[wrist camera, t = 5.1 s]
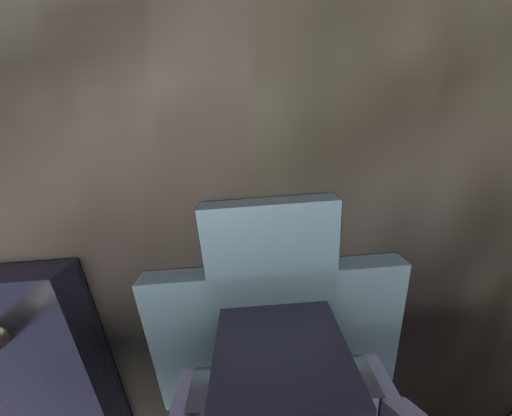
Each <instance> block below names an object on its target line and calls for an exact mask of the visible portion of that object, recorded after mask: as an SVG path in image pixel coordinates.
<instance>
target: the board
mask: <svg viewBox="0 0 512 416" xmlns="http://www.w3.org/2000/svg"><path fill="white" fill-rule="evenodd" d="M341 210H342V200H341V199H340V198H339V197H337V196H336V195H335V194H334V193H322V194H308V195H294V196H280V197H266V198H252V199H238V200H225V201H211V202H200V204H199V205H198V207H197V208H196V210H195V214H196V220H197V227H198V233H199V239H200V246H201V252H202V259H203V265H204V267H196V268H183V269H169V270H156V271H142V273H141V274H140V275H139V277H138V278H137V279H136V281H135V282H134V284H133V285H132V290H133V293H134V297H135V300H136V304H137V308H138V311H139V315H140V318H141V322H142V326H143V329H144V333H145V337H146V340H147V344H148V347H149V351H150V355H151V358H152V362H153V365H154V369H155V373H156V376H157V380H158V384H159V387H160V391H161V394H162V398H163V402H164V405H165V409H166V411H168V410H170V408H171V404H172V401H173V397H174V393H175V390H176V386H177V383H178V379H179V376H180V372H181V370H182V369H183V368H188V367H206V366H211V372H210V378H209V385H208V391H207V398H206V404H205V411H204V416H376V414H377V409H376V406H375V404H374V402H373V400H372V398H371V395H370V393H369V391H368V389H367V387H366V385H365V382H364V380H363V378H362V376H361V374H360V371H359V369H358V367H357V365H356V363H355V360H354V358H353V356H352V355H353V354H368V353H375V354H376V355H377V356H378V358H379V359H380V361H381V363H382V365H383V366H384V368H385V370H386V372H387V373H388V375H389V377H390V378H391V380H392V382H393V376H394V370H395V364H396V357H397V351H398V345H399V339H400V333H401V327H402V321H403V315H404V309H405V303H406V297H407V291H408V285H409V278H410V272H411V266H412V265H411V264H410V263H408V262H407V261H406V260H405V259H404V258H403V257H401V256H400V255H399V254H398V253H384V254H371V255H357V256H344V257H339V249H340V230H341Z"/></svg>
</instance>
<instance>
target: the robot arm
mask: <svg viewBox="0 0 512 416" xmlns="http://www.w3.org/2000/svg"><path fill="white" fill-rule="evenodd" d="M352 356H353V358H354V360H355V363H356V365H357V367H358V369H359V371H360V374H361V376H362V378H363V380H364V382H365V385H366V387H367V389H368V391H369V393H370V395H371V398H372V400H373V402H374V404H375V406H376V409H377V414H376V416H429V415H427V414H426V413H425V412H424V411H422V410H421V409H420V408H419V407H417V406H416V405H415V404H414V403H412V402H411V401H410V400H409V399H407V398H406V397H401V396H400V394H399V392H398V391H397V389H396V387H395V385H394V384H393V382H392V380H391V378H390V377H389V375H388V373H387V372H386V370H385V368H384V366H383V365H382V363H381V361H380V359H379V358H378V356H377V355H376V354H375V353H368V354H353V355H352ZM210 372H211V366H206V367H188V368H183V369H182V370H181V372H180V376H179V379H178V383H177V386H176V390H175V393H174V397H173V401H172V404H171V408H170V411H169V415H168V416H204V411H205V404H206V398H207V391H208V385H209V378H210Z"/></svg>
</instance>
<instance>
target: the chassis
mask: <svg viewBox="0 0 512 416" xmlns="http://www.w3.org/2000/svg"><path fill="white" fill-rule="evenodd" d="M0 416H132V413H131V410H130V407H129V404H128V401H127V398H126V395H125V392H124V390H123V387H122V384H121V381H120V378H119V375H118V372H117V369H116V367H115V364H114V361H113V358H112V355H111V352H110V349H109V346H108V344H107V341H106V338H105V335H104V332H103V329H102V326H101V323H100V320H99V318H98V315H97V312H96V309H95V306H94V303H93V300H92V297H91V295H90V292H89V289H88V286H87V283H86V280H85V277H84V274H83V271H82V269H81V266H80V263H79V260H78V258H70V259H56V260H43V261H29V262H16V263H2V264H0Z"/></svg>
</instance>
